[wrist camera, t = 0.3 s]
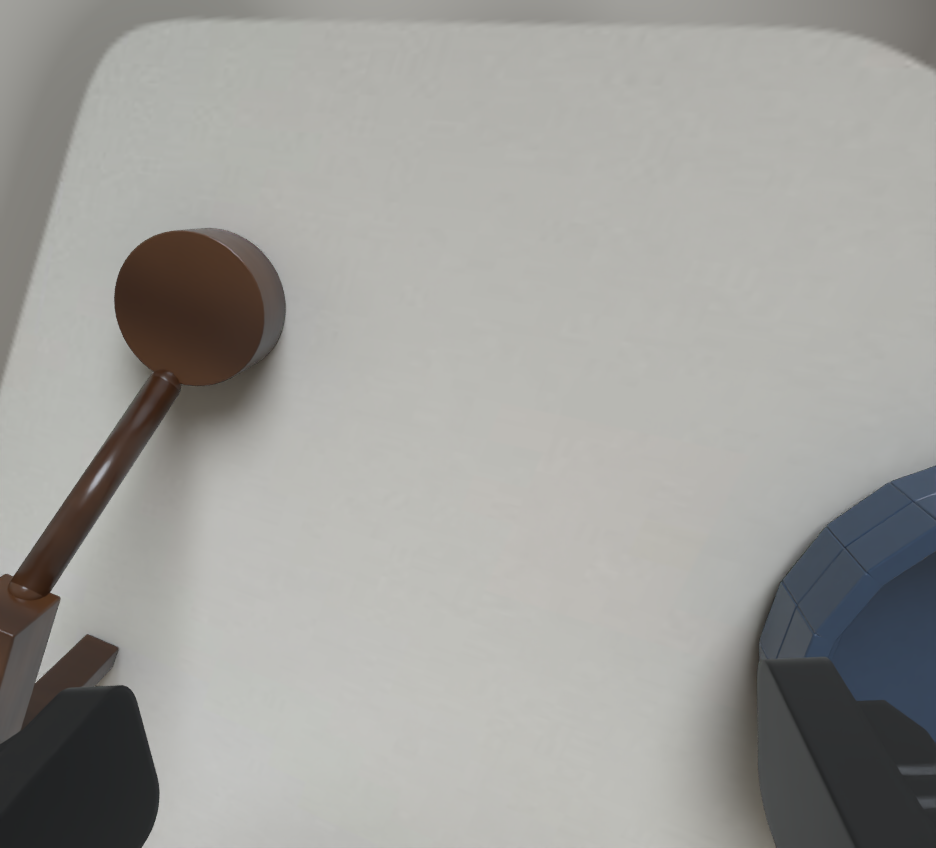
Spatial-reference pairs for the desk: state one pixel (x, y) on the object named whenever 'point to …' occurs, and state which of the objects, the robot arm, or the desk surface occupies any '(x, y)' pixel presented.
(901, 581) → the bowl
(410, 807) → the desk surface
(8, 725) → the brown disc on stem
